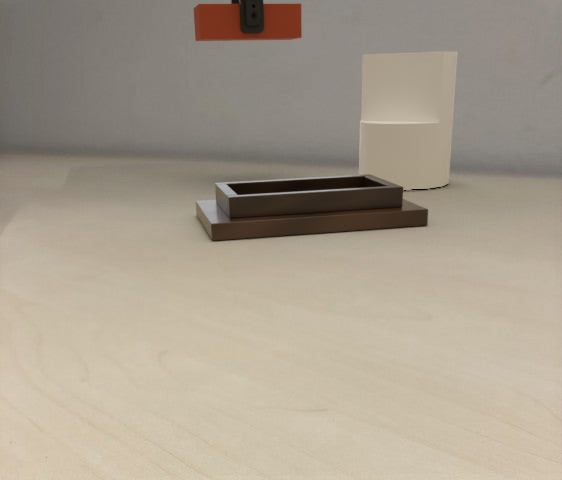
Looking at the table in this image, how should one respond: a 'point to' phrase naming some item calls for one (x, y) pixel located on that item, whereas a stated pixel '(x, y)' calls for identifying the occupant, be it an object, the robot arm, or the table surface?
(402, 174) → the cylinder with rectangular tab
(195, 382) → the table surface
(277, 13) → the red rectangular block
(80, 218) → the table surface
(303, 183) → the dark wooden tray
